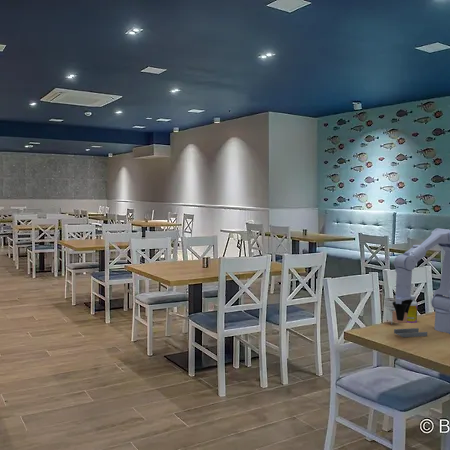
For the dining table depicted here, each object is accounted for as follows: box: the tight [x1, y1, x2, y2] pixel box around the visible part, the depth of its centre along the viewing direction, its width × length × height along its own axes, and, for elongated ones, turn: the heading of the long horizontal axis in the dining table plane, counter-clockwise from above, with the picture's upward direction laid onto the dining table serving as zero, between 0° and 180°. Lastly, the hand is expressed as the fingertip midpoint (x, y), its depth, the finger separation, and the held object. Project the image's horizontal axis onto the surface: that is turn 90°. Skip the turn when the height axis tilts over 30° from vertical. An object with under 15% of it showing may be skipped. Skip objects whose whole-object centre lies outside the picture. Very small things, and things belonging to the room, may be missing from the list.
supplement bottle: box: [407, 294, 419, 324], centre depth 228 cm, size 7×7×13 cm
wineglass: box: [384, 297, 396, 325], centre depth 221 cm, size 7×7×12 cm
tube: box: [393, 327, 428, 338], centre depth 206 cm, size 11×6×3 cm, turn 103°
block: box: [392, 311, 408, 324], centre depth 202 cm, size 4×4×4 cm
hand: (402, 318), depth 202 cm, fingers closed on block, 6 cm apart
